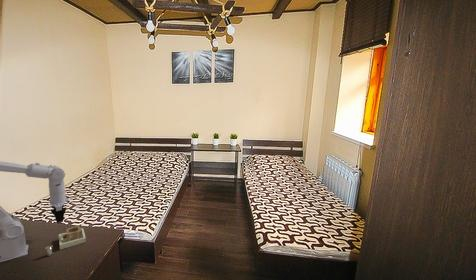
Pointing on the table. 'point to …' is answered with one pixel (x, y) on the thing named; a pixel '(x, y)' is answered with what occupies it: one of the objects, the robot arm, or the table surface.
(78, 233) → the tan open box
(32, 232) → the table surface
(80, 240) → the tray
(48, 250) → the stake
